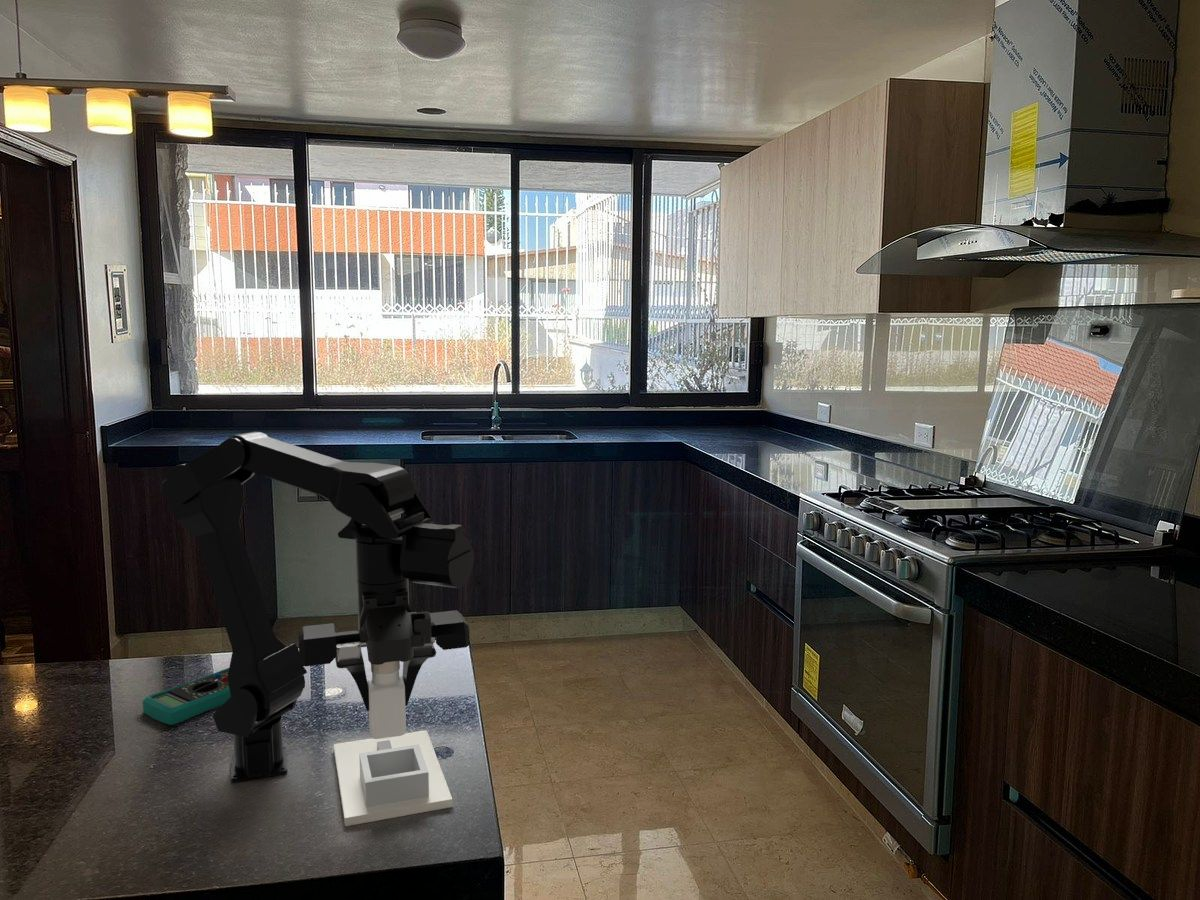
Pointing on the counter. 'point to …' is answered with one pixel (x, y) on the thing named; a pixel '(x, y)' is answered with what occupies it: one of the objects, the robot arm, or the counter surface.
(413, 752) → the outlet plate
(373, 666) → the pepper shaker
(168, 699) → the digital multimeter
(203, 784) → the counter surface
